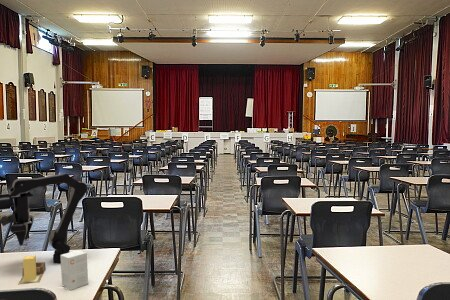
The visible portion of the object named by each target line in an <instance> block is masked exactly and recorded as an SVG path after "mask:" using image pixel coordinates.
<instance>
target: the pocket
mask: <svg viewBox="0 0 450 300" xmlns="http://www.w3.org/2000/svg"><path fill="white" fill-rule="evenodd" d="M46 269H47V268H46V261H38V262H37V261H36V275H40V274H43V273H45V271H46ZM43 275H44V274H43ZM23 276H24V269H23V268H22V277H23Z"/></svg>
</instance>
